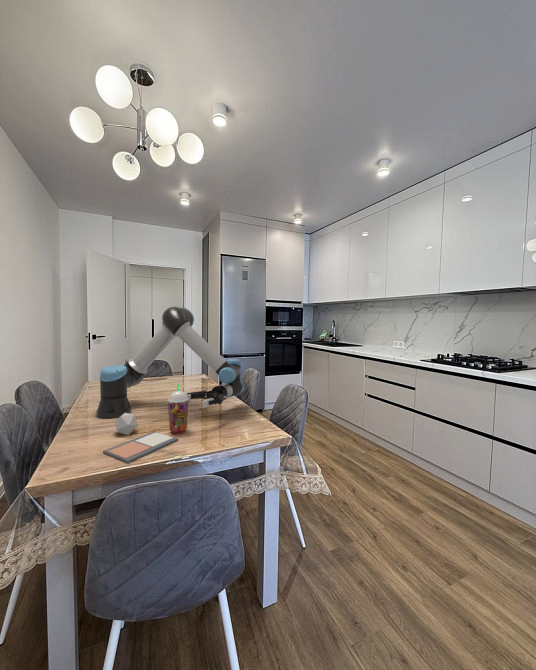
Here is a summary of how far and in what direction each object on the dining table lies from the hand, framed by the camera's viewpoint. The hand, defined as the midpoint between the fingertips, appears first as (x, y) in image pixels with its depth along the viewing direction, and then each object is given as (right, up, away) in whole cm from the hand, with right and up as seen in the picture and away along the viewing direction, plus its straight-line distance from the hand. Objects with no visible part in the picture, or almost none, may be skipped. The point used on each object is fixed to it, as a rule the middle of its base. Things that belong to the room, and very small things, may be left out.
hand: (190, 402), depth 124 cm
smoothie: (-4, -11, -5) cm, 13 cm away
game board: (-12, -12, -20) cm, 26 cm away
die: (-25, -11, -7) cm, 28 cm away
